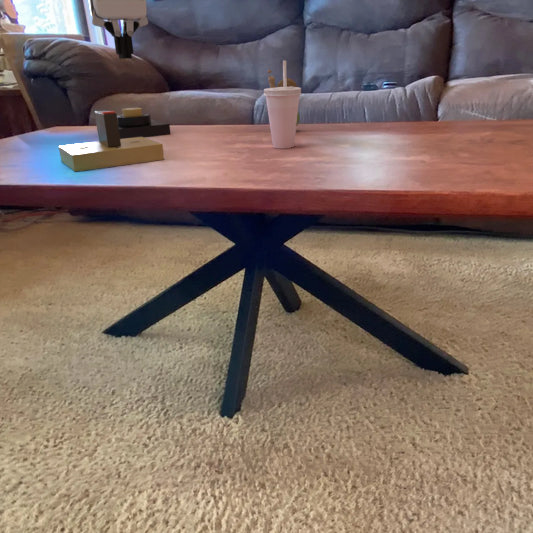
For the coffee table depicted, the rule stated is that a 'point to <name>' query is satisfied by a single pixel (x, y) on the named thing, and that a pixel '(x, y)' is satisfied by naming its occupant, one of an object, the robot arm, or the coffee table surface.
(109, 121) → the lock turn
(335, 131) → the coffee table surface
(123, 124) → the block
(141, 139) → the plate
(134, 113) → the bell button
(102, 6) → the robot arm
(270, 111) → the smoothie
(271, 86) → the snail figurine
